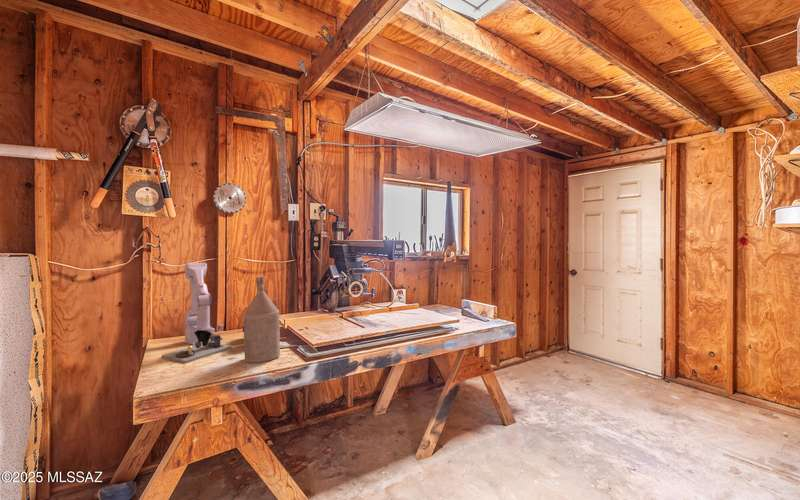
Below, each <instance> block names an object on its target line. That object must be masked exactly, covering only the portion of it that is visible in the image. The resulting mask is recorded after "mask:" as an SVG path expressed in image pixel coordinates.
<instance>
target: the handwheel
mask: <svg viewBox="0 0 800 500" xmlns="http://www.w3.org/2000/svg"><path fill="white" fill-rule="evenodd" d="M192 346H193V345H188V346H187V348H188V350H186V351H180V352H178V353H176V354H175V357H188V356H192V355H194V354H195V351H194V350H192Z"/></svg>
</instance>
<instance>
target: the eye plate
mask: <svg viewBox="0 0 800 500" xmlns="http://www.w3.org/2000/svg"><path fill="white" fill-rule="evenodd" d="M220 336H221V335H220V334H216V333H215V334H214V333H212V334H211V336H210V338H209V339H213V338H214V342H213V343H210V344H208V345H206V347H211V348H215V349H217V348H220V347H223V345H224V344H223V345H220V344H221V340H220Z"/></svg>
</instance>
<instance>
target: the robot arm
mask: <svg viewBox="0 0 800 500" xmlns="http://www.w3.org/2000/svg"><path fill="white" fill-rule="evenodd" d="M207 272H208V264H207V263H206V262H198V263H197V262H189V263H188V262H187V263H185V265H184V275H185V276H184V277H185V279H188V280H189V283H190V306H191V308H190V309H189V310H187V311H186V313H185V318H184V319H185V320H184V321H185V322H184V323H185V327H186V328H185V330H184V341H183V344H184V343H185V344H189V345H192V346H195V343H196V342H202V344H203V346H206V345H208V341H209V338H210V336H211V334H214V333H215V331H216V330H215V328H214V327H212V326H211V322H210V321H211V315H210V314H211V308H210V307H211V305H212V296H211V293H210V292H209V291H208V285H207V283H205V282H204V278H205V276H206V275H207Z"/></svg>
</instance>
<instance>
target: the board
mask: <svg viewBox="0 0 800 500" xmlns="http://www.w3.org/2000/svg"><path fill="white" fill-rule="evenodd" d="M220 345H223V347H220V348H217V349H215V348H211V347H206V346H200V347H199V348H196V347H195V345H191V346H192V350H194V351H195V354H194V355H192V356H188V357H175V354H176V353H178V352H180V351H186V350H188V347H185V348H181V349H178V350H175V351H171V352H167V353H164V354H162V355H161V358H162V359H166V360H171V361H174V362H177V361H178V362H179V363H182V364H188V363H192V362H195V361H197V360H201V359H203V358H207V357H210V356H212V355H216V354H219V353H222V352H225V351H228V350H231V349H232V346H231V345H227V344H222V343H220Z"/></svg>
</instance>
